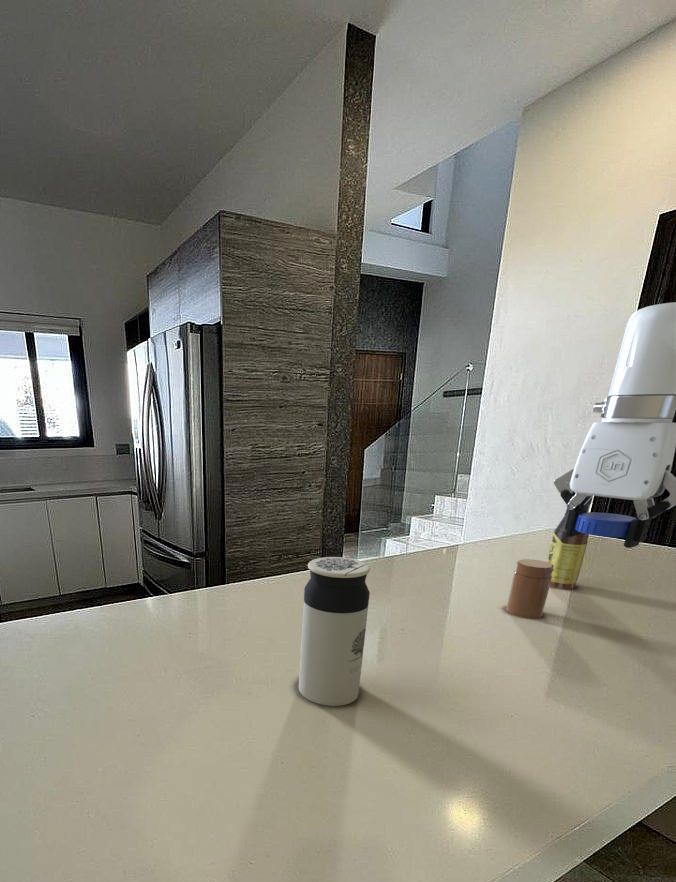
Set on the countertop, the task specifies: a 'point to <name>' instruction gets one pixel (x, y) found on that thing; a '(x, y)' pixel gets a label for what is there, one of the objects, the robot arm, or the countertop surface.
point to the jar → (529, 588)
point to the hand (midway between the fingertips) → (600, 539)
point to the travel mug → (333, 630)
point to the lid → (603, 524)
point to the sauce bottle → (566, 554)
